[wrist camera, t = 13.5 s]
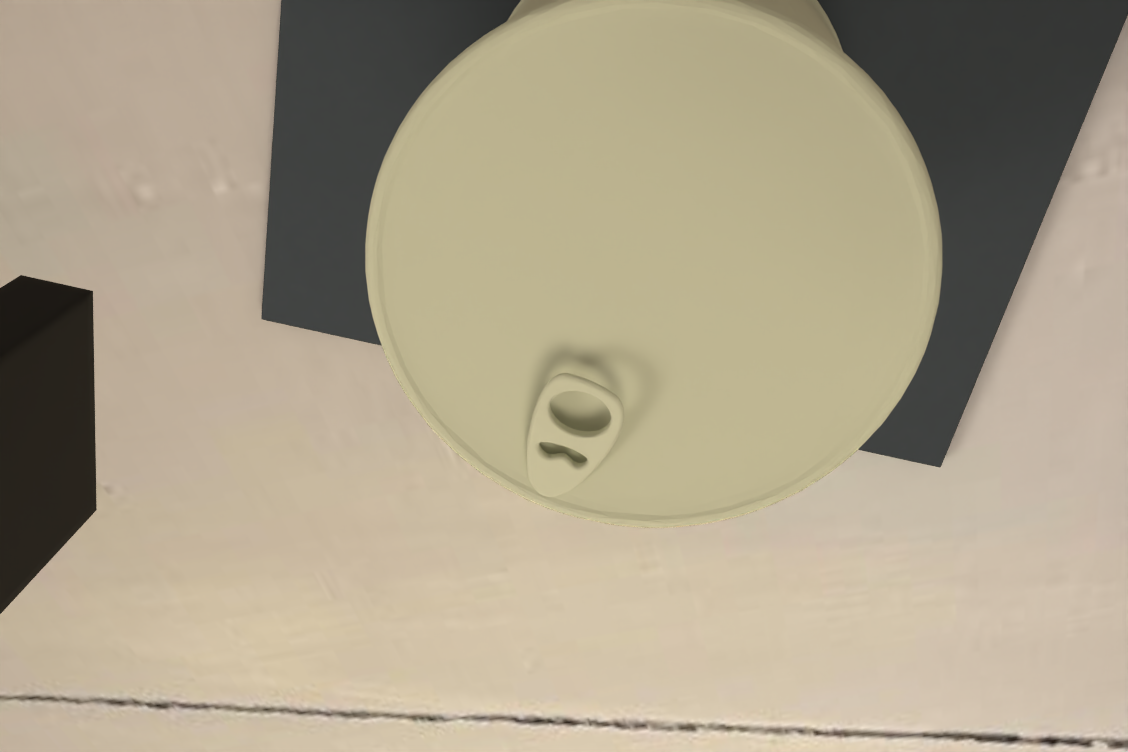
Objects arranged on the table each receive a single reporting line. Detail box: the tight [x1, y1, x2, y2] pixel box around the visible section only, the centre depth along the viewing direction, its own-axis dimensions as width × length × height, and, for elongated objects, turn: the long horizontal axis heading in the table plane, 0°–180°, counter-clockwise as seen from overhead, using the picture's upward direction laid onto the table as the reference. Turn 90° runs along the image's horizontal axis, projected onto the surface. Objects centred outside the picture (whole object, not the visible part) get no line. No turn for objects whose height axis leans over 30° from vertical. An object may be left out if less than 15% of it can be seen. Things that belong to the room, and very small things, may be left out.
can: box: [365, 0, 942, 528], centre depth 22 cm, size 9×9×12 cm
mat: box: [262, 0, 1128, 467], centre depth 27 cm, size 20×16×1 cm
